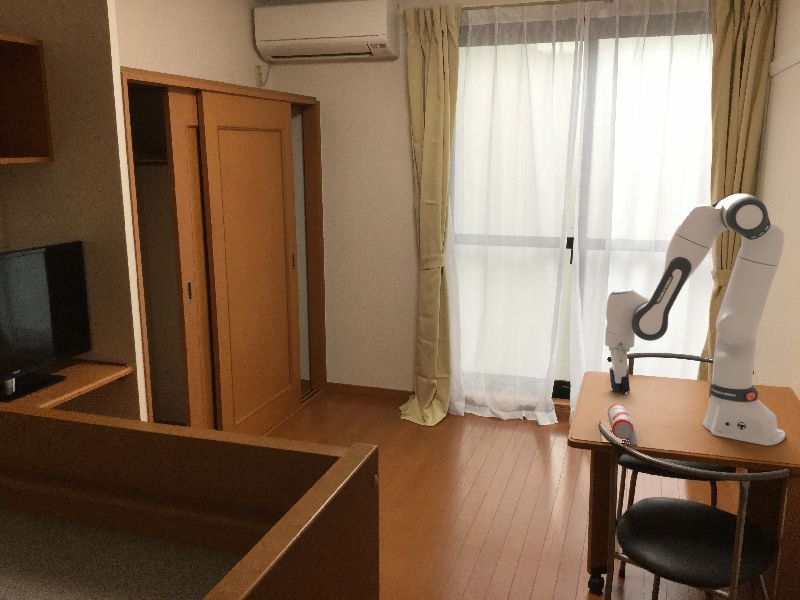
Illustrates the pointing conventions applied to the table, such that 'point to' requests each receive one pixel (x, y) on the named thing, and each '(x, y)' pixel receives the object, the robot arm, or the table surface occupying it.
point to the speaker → (619, 386)
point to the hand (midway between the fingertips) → (617, 382)
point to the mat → (630, 439)
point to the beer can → (620, 421)
